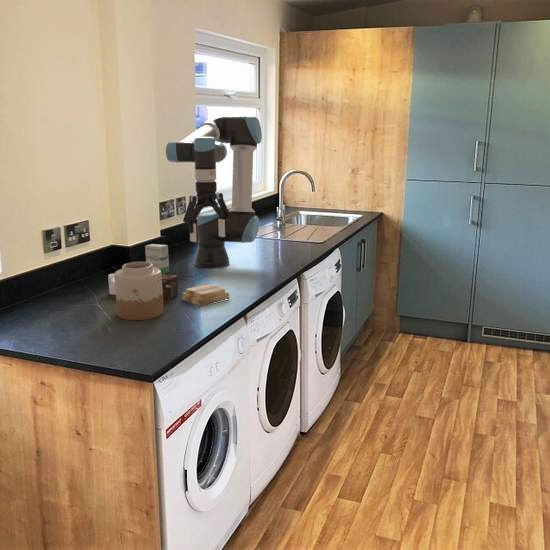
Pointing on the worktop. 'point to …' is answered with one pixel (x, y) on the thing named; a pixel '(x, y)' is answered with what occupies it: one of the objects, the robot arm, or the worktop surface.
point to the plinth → (206, 300)
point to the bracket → (111, 284)
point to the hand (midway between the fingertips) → (207, 239)
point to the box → (169, 286)
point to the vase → (139, 291)
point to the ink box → (158, 256)
